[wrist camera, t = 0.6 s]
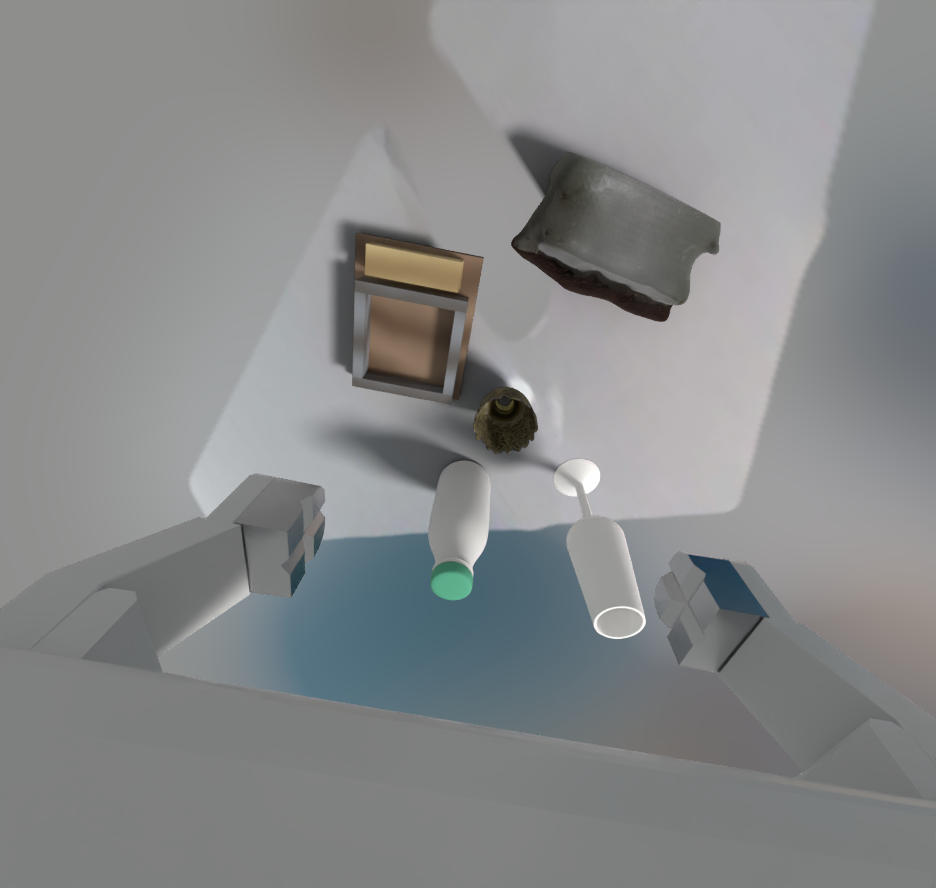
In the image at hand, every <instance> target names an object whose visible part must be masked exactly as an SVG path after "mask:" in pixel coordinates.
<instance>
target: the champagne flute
mask: <svg viewBox="0 0 936 888" xmlns="http://www.w3.org/2000/svg"><path fill="white" fill-rule="evenodd" d="M599 480H600V472H599V470H598V468H597V466H596V465H595V464H594V463H592V462H590V461H588V460H585V459H573V460H569V461H567V462H565V463H563V464H562V465H560V466H559V467H558V469H557V470H556V472H555V474H554V484H555V486H556V488H557V489H558V490H559V491H560V492H561V493H563V494H565V495H569V496H578V500H579V503H580V507H581V511H582V514H583V518H581V519H579V520H578V521H577V522H576V523H575V524H574V525H573V526H572V527H571V529H570V531H569V532H568V535H567V539H566V544H567V548H568V551H569V554H570V557H571V560H572V563H573V566H574V569H575V572H576V575H577V578H578V581H579V584H580V586H581V589H582V592H583V595H584V598H585V601H586V604H587V607H588V610H589V613H590V615H591V618H592V622H593V625H594V628H595V629H596V631H597V632H598V633H599V634H601V635H603V636H605V637H608V638H615V639H621V638H627V637H630V636H633V635H635V634H637V633H639V632H640V631H641V630H642V629H643V628H644V625H645V622H646V620H645V615H644V611H643V607H642V603H641V599H640V595H639V591H638V588H637V583H636V579H635V575H634V571H633V567H632V563H631V559H630V555H629V551H628V547H627V543H626V539H625V535H624V532H623V530H622V529H621V528H620V527H619V525H618V524H617V523H615V522H614V521H612V520H610V519H608V518H606V517H602V516H598V515H592V512H591V509H590V505H589V502H588V499H587V496H586V494H587V493H589V492H591V491H592V490H593V489H594V488H595V487H596V486H597V484H598V483H599Z"/></svg>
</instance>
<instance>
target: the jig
mask: <svg viewBox="0 0 936 888" xmlns="http://www.w3.org/2000/svg"><path fill="white" fill-rule="evenodd" d="M482 264H483V257H480V256H475V255H470V254H465V253H459V252H455V251H449V250H444V249H439V248H434V247H429V246H424V245H419V244H414V243H409V242H404V241H398V240H393V239H388V238H383V237H378V236H373V235H368V234H363V233H356V252H355V293H354V333H353V373H352V386H355V387H361V388H366V389H371V390H377V391H382V392H387V393H393V394H398V395H403V396H409V397H414V398H419V399H425V400H430V401H436V402H441V403H446V404H451V402H452V399H457V400H459V396H460V390H461V385H462V379H463V373H464V367H465V362H466V356H467V350H468V344H469V339H470V333H471V327H472V321H473V316H474V310H475V304H476V299H477V293H478V287H479V281H480V276H481V270H482Z"/></svg>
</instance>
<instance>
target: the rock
mask: <svg viewBox="0 0 936 888" xmlns="http://www.w3.org/2000/svg"><path fill="white" fill-rule="evenodd" d="M549 181H550V182H551V184H550V187H549V189H548V192H547V194H546V195H545V197H544V199H543V200H542V202H541V203H540V205H539V206H538V208H537V209H536V210H535V212H534V213H533V215H532V216H531V218H530V219H529V221H528V223H527V224H526V226H525V227H524V228H523V230H522V231H521V232H520V233H519V234H518V235H517V236H516V237H515V238H514V239H513V240H512V242H511V246H512V247H513V248H514V249H515V250H516V251H517V252H518V253H519V254H520V255H521V256H522V257H523V258H524V259H526V260H528V261H529V262H531V263H533V264H534V265H535V266H537V267H538V268H539V269H540V270H542V271H543V272H544V273H546V274H547V275H548V276H549V277H551V278H552V279H554V280H555V281H556V282H558V283H559V284H560V285H561V286H562V287H563V288H565V289H567V290H569V291H572V292H575V293H578V294H581V295H586V296H592V297H596V298H600V299H604V300H607V301H610V302H612V303H613V304H615V305H617V306H618V307H620V308H622V309H623V310H625V311H627V312H630V313H632V314H635V315H638V316H641V317H645V318H648V319H651V320H654V321H659V322H663V321H666V320H667V319H668V317H669V314H670V309H671V307H672V306H673V305H681V304H683V303H685V302H686V300H687V298H688V296H689V292H690V272H691V269H692V265H693V263H694V261H695V259H696V258H698V257H699V256H700V255H701V254H702V253H706V252H708V253H710V254H714V255H715V254H717V253H718V251H719V244H718V243H719V236H720V222H718V221H716V220H715V219H713V218H711V217H709V216H708V215H706V214H704V213H702V212H700V211H699V210H697V209H695V208H693V207H691V206H689V205H687V204H685V203H683V202H681V201H679V200H677V199H675V198H673V197H671V196H669V195H667V194H665V193H663V192H661V191H658V190H656V189H654V188H652V187H650V186H648V185H646V184H644V183H642V182H639V181H637V180H635V179H633V178H631V177H629V176H626V175H624V174H622V173H620V172H618V171H615V170H613V169H611V168H609V167H606V166H604V165H602V164H599V163H597V162H595V161H592V160H590V159H587V158H585V157H582V156H579V155H577V154H573V153H570V152H569V153H567V154H566V155H564V156H563V157H562V158H561V159H560V160H559V161H558V162H557V164H556V165H555V166H554V168H553V170H552V172H551V174H550V177H549Z"/></svg>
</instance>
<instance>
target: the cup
mask: <svg viewBox="0 0 936 888" xmlns="http://www.w3.org/2000/svg"><path fill="white" fill-rule="evenodd" d="M502 397H504V398H509V399H511V402H510V404H509V405H507V406H502V405H500V404H499V401H498V400H499V398H502ZM473 430H474V432H475V434H476V439H477V440H480V439H481V440H482V442H483V443H485V444H486V448H487V449H488V450H490V449H492V451H493V452H494V453H495V454H500V453H502V452H503V451H505V452H506V453H507V454H510V453H511V451H512V449H514V450H515V451H518V452H519V451H520V450H521V448H526V447H527V446H528V444H529V439H530V440H531V441H533V440H534V433H535V432H537V430H538V424H537V417H536V414H535V413H534V411H533V409H532V407H531V405H530V403H529V401H528V399H527V398H526V397H525V396H524V395H523V394H522V393H521V392H520V391H518V390H516V389H514V388H509V387H501V388H497V389H494V390H492V391H491V392H489V393H488V394H487V395H486V396H485V397H484V399H483V400H482V402H481V404H480V406H479V408H478V411H477V413H476V415H475V420H474V424H473Z"/></svg>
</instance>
